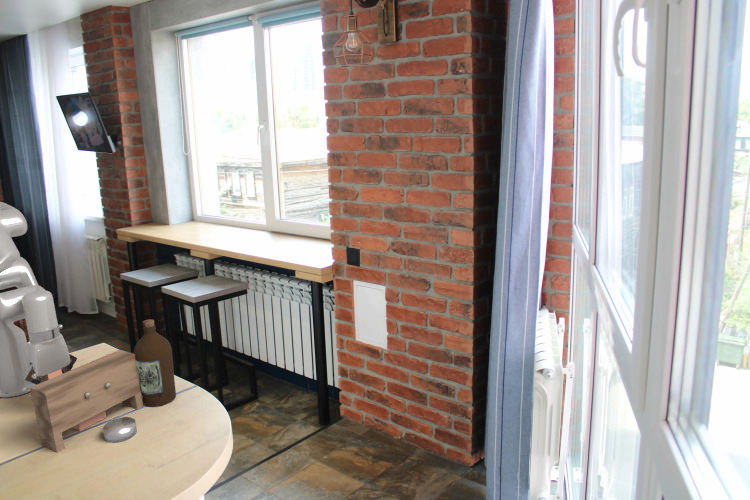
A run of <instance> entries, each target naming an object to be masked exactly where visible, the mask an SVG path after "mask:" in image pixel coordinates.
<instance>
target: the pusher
mask: <svg viewBox="0 0 750 500" xmlns="http://www.w3.org/2000/svg"><path fill="white" fill-rule="evenodd" d="M61 374H62V370H61V369H59V370H57V371H54V372H52V373H49V374H47V375H46V376H45V381H47V380H49V379H51V378H54V377H56V376H59V375H61ZM105 418H107V414H106V410H105V411H103V412H101V413H99V414H97V415H95V416H93V417H91V418H89V419H87V420H85V421H83V422H81V423H79V424H77V425H75V426H73V427H71V429H75V430H77V431H80V432H81V431H83V430H85V429H86V428H88V427H90V426H92V425H94V424H96V423H98V422H99V421H102V420H104V419H105Z"/></svg>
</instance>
